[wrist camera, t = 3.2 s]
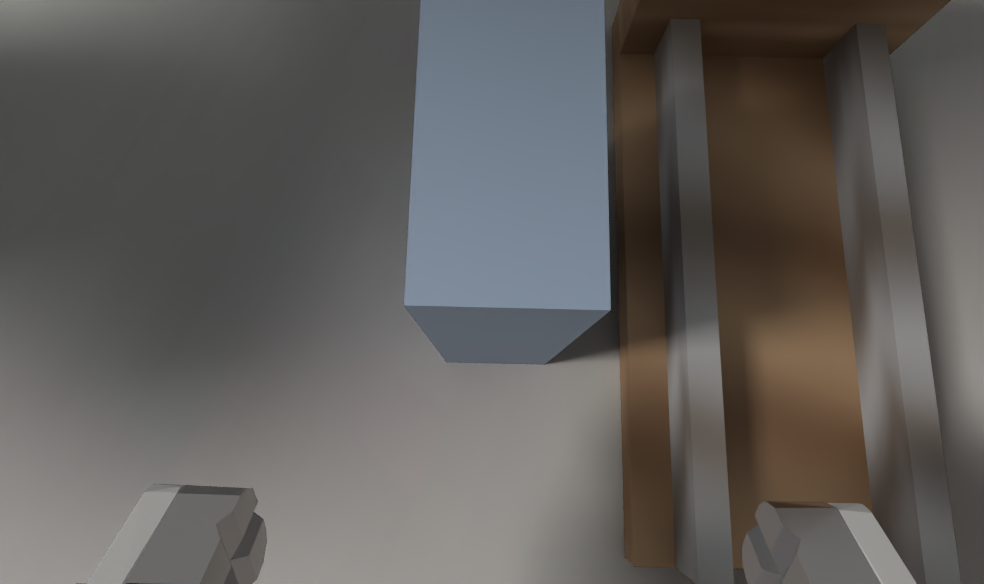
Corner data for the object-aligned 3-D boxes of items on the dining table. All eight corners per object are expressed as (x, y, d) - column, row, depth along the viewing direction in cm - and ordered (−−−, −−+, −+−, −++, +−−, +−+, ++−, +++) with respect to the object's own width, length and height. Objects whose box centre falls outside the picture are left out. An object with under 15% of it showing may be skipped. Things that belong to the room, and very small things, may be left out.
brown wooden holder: (923, 563, 19) (1823, 870, 6) (624, 557, 19) (914, 853, 6) (857, 34, 23) (1316, -435, 10) (611, 27, 23) (769, -453, 10)
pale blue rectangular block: (544, 364, 20) (610, 310, 10) (446, 362, 20) (403, 305, 10) (545, 180, 22) (602, -45, 11) (453, 178, 22) (423, -50, 11)
